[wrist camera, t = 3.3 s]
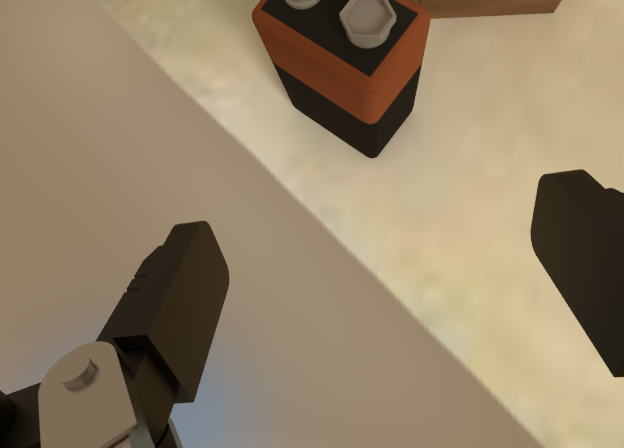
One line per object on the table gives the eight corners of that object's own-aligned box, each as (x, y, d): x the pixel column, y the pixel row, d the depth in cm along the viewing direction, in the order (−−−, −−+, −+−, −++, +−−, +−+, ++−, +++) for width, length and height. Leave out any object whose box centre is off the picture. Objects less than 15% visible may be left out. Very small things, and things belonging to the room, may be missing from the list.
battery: (373, 163, 24) (370, 82, 14) (290, 106, 26) (236, -1, 16) (415, 108, 24) (441, -9, 14) (330, 55, 26) (301, -84, 16)
